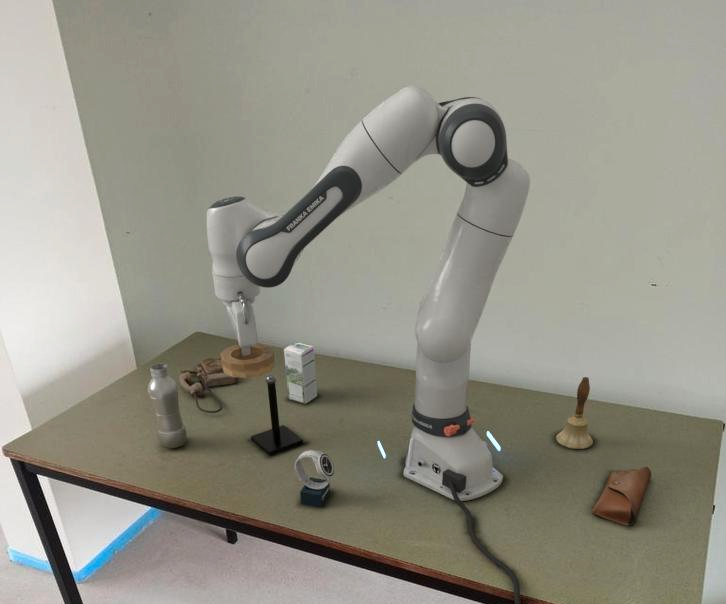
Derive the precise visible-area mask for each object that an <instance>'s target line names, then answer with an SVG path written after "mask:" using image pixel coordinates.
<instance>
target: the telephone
mask: <svg viewBox="0 0 726 604" xmlns="http://www.w3.org/2000/svg"><path fill="white" fill-rule="evenodd" d="M195 366H196V369H187V368H186V369H184V370H180V373H181V374H180V375H179V378H178V380H179V383H180V386H181V387H182V388H183V389H184V390H185V391H186V392H187V393H190V395H192V396H193V397H194V398H195V404H196V405H195V406H196V407H197V409H198V410H200V411H201V412H203V413H207V414H216V413H219V412H221V411H222V410H223V404H222V402H221V401H220V400H219V399H218V397H217V396H216V395H215V394H214V393H213V392H212V391H211V389H210V388H209V387H216V386H224V385H231V384H232V385H233V384H236V383H237V377H232V376H229V375H227V374H225V373H224V371H223V368H222V362H221V357H220V358H213V357H212V358H211V357H210V358H206V359H204V360H203V359H202V360H201V361H200V363H197V364H196V365H195ZM191 375H196V376H197V378H198V379H199V380H200V381H201V383H200V382H199V381H198V382H195V383H193V384H192V376H191ZM205 390H207V391H208V393H209V394H210V395H211V396H212V397H213V398H214V400H215V401H216V402H217V403H218V404H219V406H220V407H219V409H217V410H206V409H204V408H202V407H201V406H200V404H199V400H198V397H201V396H203V395H204V392H205Z"/></svg>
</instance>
